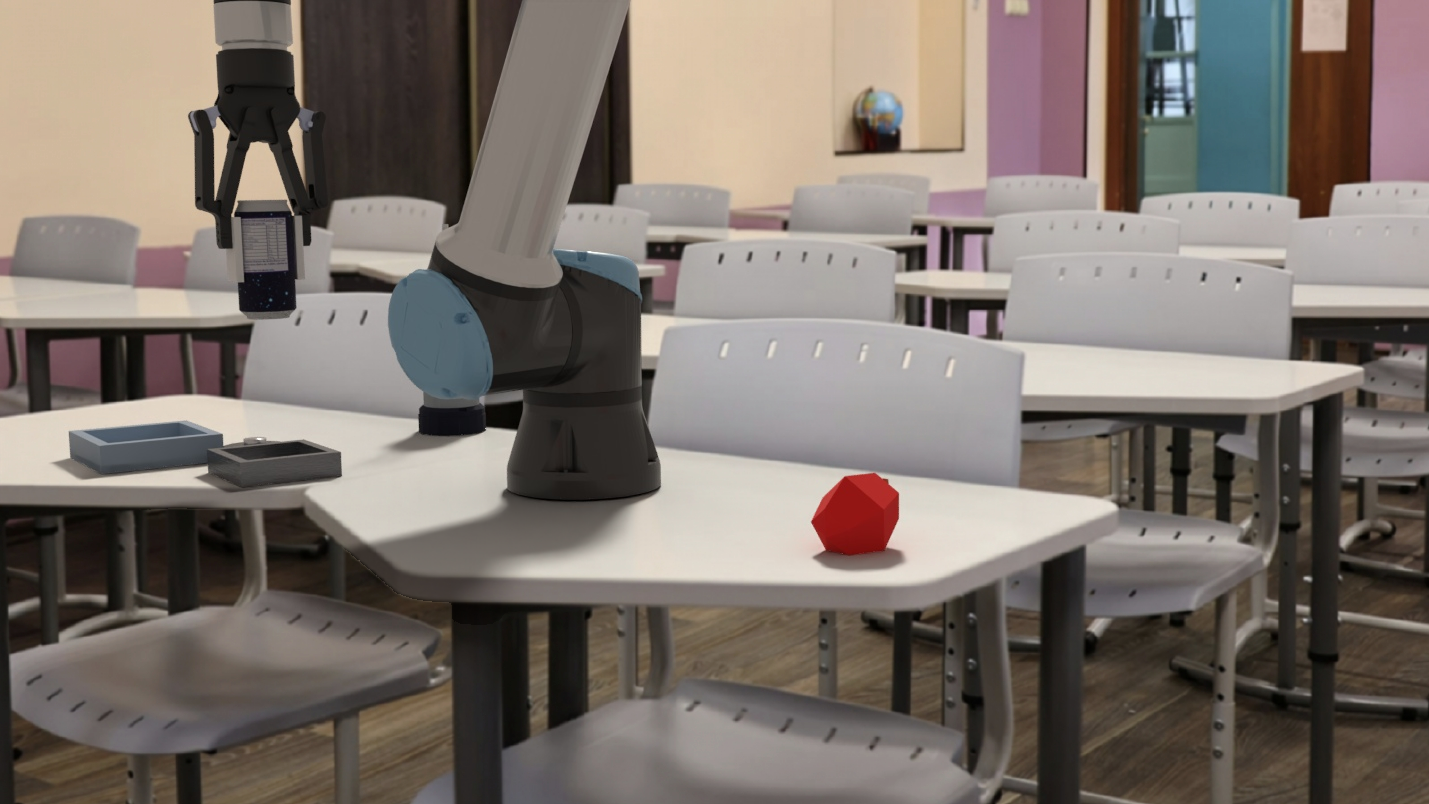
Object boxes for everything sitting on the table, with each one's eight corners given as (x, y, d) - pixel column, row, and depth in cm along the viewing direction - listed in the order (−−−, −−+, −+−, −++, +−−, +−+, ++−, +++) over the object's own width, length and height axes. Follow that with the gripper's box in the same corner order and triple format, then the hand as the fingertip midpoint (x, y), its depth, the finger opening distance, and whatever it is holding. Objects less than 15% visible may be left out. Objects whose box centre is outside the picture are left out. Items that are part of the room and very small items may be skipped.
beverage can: (308, 316, 167) (303, 199, 166) (267, 320, 162) (261, 200, 161) (269, 315, 170) (263, 199, 168) (227, 319, 165) (221, 200, 164)
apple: (836, 496, 126) (902, 449, 130) (783, 500, 131) (848, 454, 136) (871, 574, 127) (935, 524, 132) (817, 574, 133) (880, 526, 137)
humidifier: (464, 423, 203) (458, 223, 200) (498, 431, 197) (493, 223, 193) (406, 430, 198) (398, 224, 195) (439, 438, 192) (432, 225, 188)
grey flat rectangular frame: (341, 475, 167) (340, 450, 167) (241, 487, 161) (240, 461, 161) (282, 454, 181) (281, 431, 181) (188, 464, 175) (187, 440, 175)
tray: (224, 461, 177) (222, 433, 177) (101, 474, 170) (99, 445, 169) (187, 445, 188) (186, 420, 187) (70, 457, 180) (68, 431, 180)
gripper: (329, 55, 171) (339, 275, 174) (149, 48, 160) (163, 283, 163) (357, 49, 165) (367, 277, 168) (171, 42, 154) (186, 286, 157)
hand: (266, 279), depth 166 cm, fingers closed on beverage can, 6 cm apart
